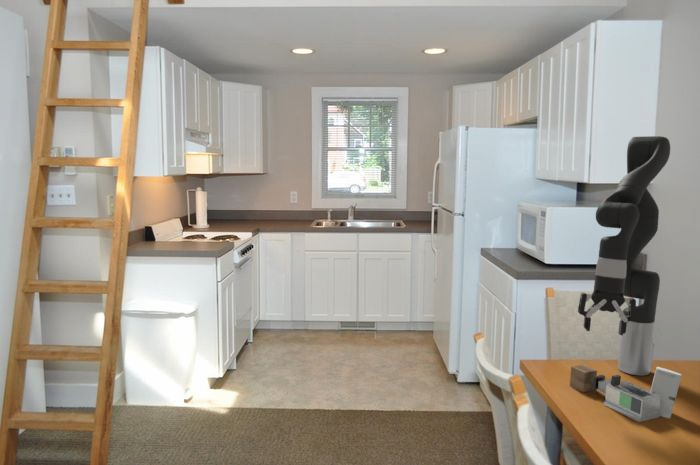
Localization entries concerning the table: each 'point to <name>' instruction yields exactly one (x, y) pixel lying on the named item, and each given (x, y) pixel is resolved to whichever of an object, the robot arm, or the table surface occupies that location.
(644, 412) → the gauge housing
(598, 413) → the table surface
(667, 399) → the skincare box
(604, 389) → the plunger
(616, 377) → the dark gray block
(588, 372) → the walnut block
